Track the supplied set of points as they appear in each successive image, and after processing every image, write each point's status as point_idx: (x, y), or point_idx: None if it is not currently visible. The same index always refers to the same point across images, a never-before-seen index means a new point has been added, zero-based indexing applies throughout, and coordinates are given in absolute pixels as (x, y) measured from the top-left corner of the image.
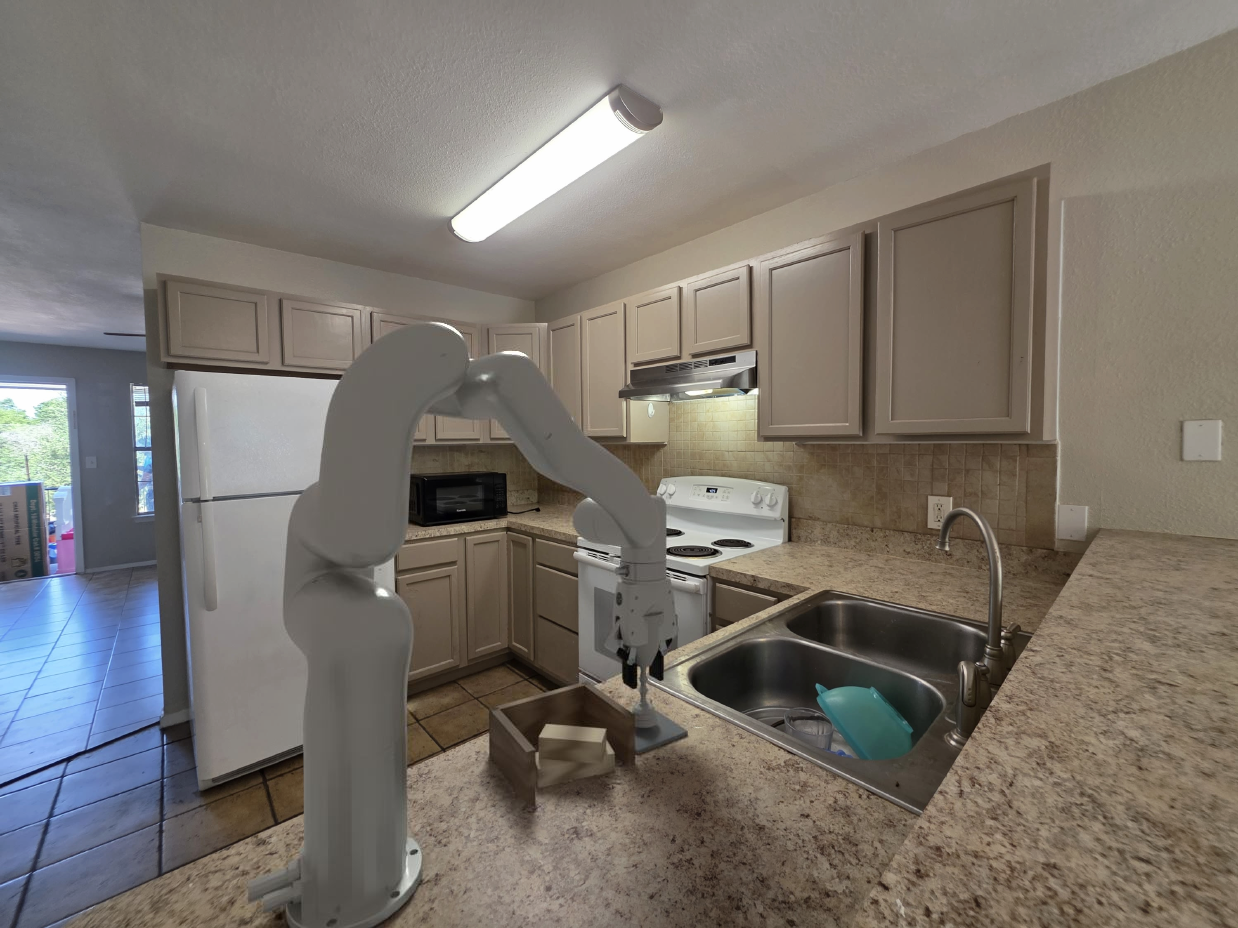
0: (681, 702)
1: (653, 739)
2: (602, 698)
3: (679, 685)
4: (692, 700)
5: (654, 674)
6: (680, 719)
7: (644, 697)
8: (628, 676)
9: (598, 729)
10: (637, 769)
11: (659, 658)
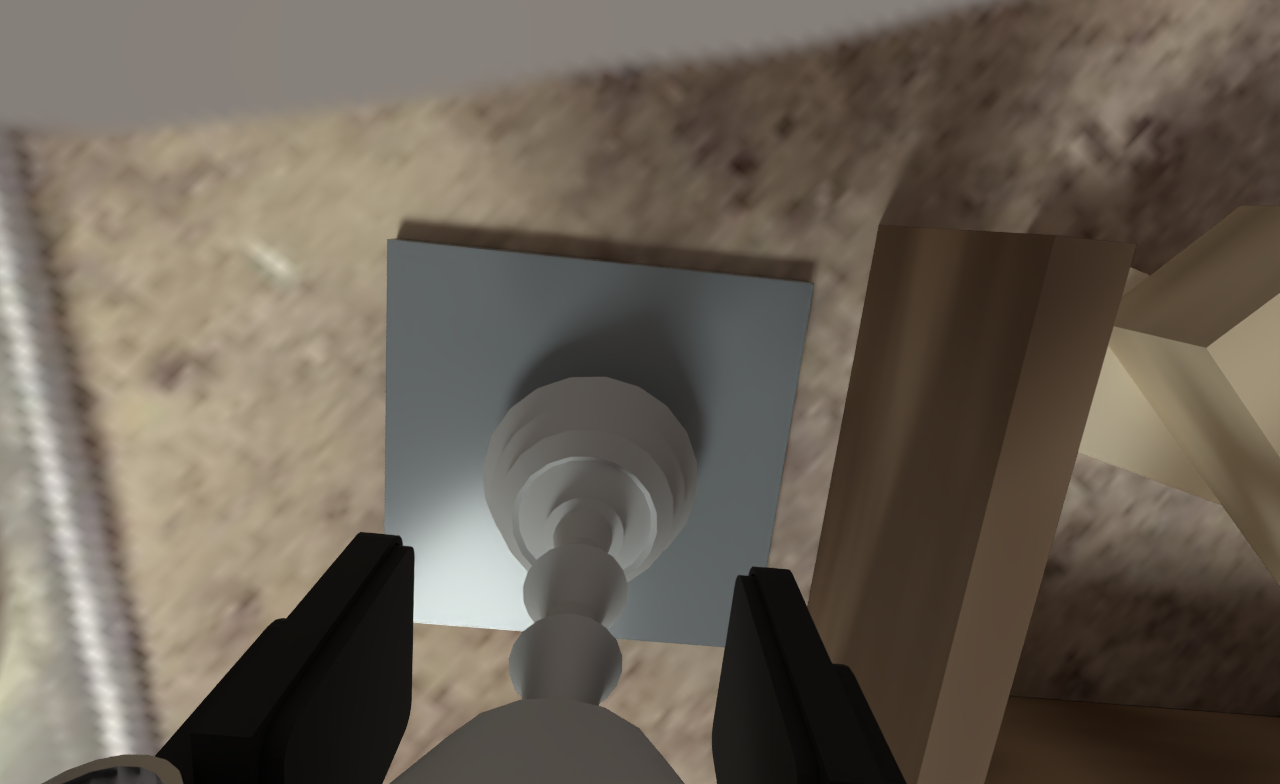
0: (149, 553)
1: (645, 314)
2: (1015, 670)
3: (9, 717)
4: (63, 527)
5: (399, 654)
6: (305, 404)
7: (586, 539)
8: (860, 704)
9: (1256, 378)
10: (917, 164)
11: (286, 743)
